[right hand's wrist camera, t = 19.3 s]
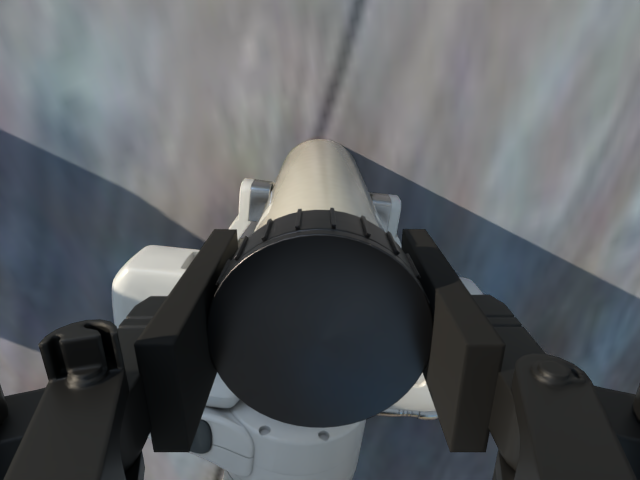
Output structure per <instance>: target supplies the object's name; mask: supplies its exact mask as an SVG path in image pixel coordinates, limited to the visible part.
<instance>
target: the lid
mask: <svg viewBox="0 0 640 480" xmlns="http://www.w3.org/2000/svg"><path fill="white" fill-rule="evenodd" d="M420 278H421V277H420V275H419V273H418V271H417V269H416V267H415V265H414V263H413V261H412V259H411V257H410V255H409V254H408V253H407V254H405V253H404V252H403V250H402V249H401V247H400V246H399V245H398V244H397V243H396V242H395V240H394V238H393V236H392V234H391V233H390V232H389V231H388V232H387V233H386V232H385V231H383V230H382V229H381V228H380V227H378V226H376V225H375V224H373V223H371V222H370V221H367V220H366V218H365V216H363V215H361V217H358V216H355V215H352V214H349V213H345V212H340V211H334V208H330V210H307V211H302V209H298V211H297V212H295V213H291V214H288V215H285V216H282V217H279V218H277V219H275V220H273V221H272V219H269V220H268V221H267V223H266V224H265V225H264V226H262V227H261V228H259V229H258V230H256V231H255V232H254V233H253V234H252V235H250V236H249V237H247V236H245V237H244V238H243V240H242V242H241V244H240V246H239V249H238V250H237V251H236V253H235V255H234V256H233V258H232V260H230V259H228V261H227V263H226V265H225V267H224V269H223V271H222V273H221V275H220V277H219V279H218V281H217V283H216V285H217V286H218V288H217V290H216V292H215V294H214V297H213V299H212V302H211V304H210V308H209V312H208V317H207V337H208V346H209V353H210V357H211V359H212V362H213V364H214V367H215V369H216V371H217V372H218V374H219V376H220V378H221V379H222V381H223V382H224V383H225V385H226V386H227V387H228V388H229V390H230V391H231V392H232V393H233V394H234V395H235V396H236V397H237V398H238V399H240V400H241V401H242V402H244V403H245V404H246V405H247V406H249V407H250V408H252V409H254V410H255V411H257V412H259V413H260V414H263V415H265V416H267V417H269V418H271V419H274V420H277V421H280V422H283V423H287V424H291V425H295V426H302V427H310V428H328V427H339V426H344V425H350V424H353V423H357V422H360V421H363V420H366V419H368V418H371V417H373V416H376V415H377V414H379V413H381V412H383V411H385V410H387V409H388V408H389V407H391V406H392V405H394V404H395V403H397V402H398V401H399V400H400V399H401V398H402V397H403V396H405V395H406V394H407V393H408V392H409V390H410V389H411V388H412V387H413V386H414V385H415V383H416V382H417V380H418V379H419V377H420V376H421V374H422V373H423V371H424V369H425V366H426V364H427V362H428V359H429V356H430V352H431V344H432V335H433V318H432V311H431V308H430V301H429V299H428V297H427V295H426V293H425V291H424V289H423V287H422V285H421V283H420V281H419V279H420Z"/></svg>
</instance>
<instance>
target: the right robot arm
mask: <svg viewBox="0 0 640 480" xmlns="http://www.w3.org/2000/svg"><path fill="white" fill-rule="evenodd" d="M401 249H402V250H403V252H404V253H405V254H407V253H408V254H409V255H410V257H411V259H412V261H413V263H414V265H415V267H416V269H417V271H418V273H419V275H420V277H421V278H420V279H419V281H420V283H421V285H422V287H423V289H424V291H425V293H426V295H427V297H428V299H429V301H430V308H431V311H432V318H433V335H432V344H431V352H430V356H429V359H428V362H427V364H426V366H425V369H424V371H423V375H424V378H425V381H426V384H427V387H428V390H429V392H430V395H431V398H432V401H433V404H434V407H435V410H436V412H437V415H438V418H439V421H440V424H441V427H442V430H443V433H444V435H445V438H446V441H447V444H448V447H449V450H450V452H486V448H487V443H488V437H489V432H491V434H492V436H493V439H494V441H495V443H496V445H497V447H498V454H497V459H496V464H495V469H494V474H493V479H492V480H640V384H639V387H638V390H637V393H636V395H635V394H630V393H625V392H620V391H615V390H611V389H606V388H601V387H597V386H593V384H592V382H591V380H590V379H589V377H588V376H587V375H586V373H585V372H584V371H582V370H581V369H580V368H578V367H577V366H575V365H574V364H572V363H570V362H568V361H566V360H563V359H561V358H559V357H555V356H551V355H547V354H545V353H544V351H543V350H542V349H541V348H540V346H539V345H538V344H537V343H536V342H535V340H534V339H533V338H532V337H531V336H530V334H529V333H528V332H527V331H526V329H525V328H524V327H522V326H521V323H520V322H519V321H518V320H517V318H516V317H514V315H513V314H512V312H511V311H510V310H509V309H508V307H507V306H506V305H505V304H504V303H502V302H500V301H499V300H497V299H496V298H494V297H492V296H491V295H471V294H470V292H469V291H468V290H467V288H466V287H465V285H464V284H463V282H462V281H461V280H460V278H459V277H458V275H457V274H456V272H455V271H454V270H453V268H452V267H451V265H450V264H449V262H448V261H447V260H446V258H445V257H444V255H443V254H442V252H441V251H440V250H439V248H438V247H437V245H436V244H435V242H434V241H433V240H432V238H431V237H430V235H429V234H428V232H427V231H426V230H425V229H403V234H402V247H401ZM237 250H238V237H237V229H214V231H213V232H212V234H211V235H210V236H209V238H208V239H207V241H206V242H205V244H204V245H203V246H202V248H201V249H200V251H199V252H198V254H197V255H196V256H195V258H194V259H193V261H192V262H191V264H190V265H189V266H188V268H187V269H186V271H185V272H184V274H183V275H182V276H181V278H180V279H179V281H178V282H177V283H176V285H175V286H174V288H173V289H172V291H171V292H170V293H169V295H168V296H150V297H148V298H147V299H145V300H143V301H142V302H140V303H139V304H137V305H135V306H134V308H133V309H132V310H131V311H130V313H129V314H128V315H127V316H126V319H124V320H123V321H122V322H121V324H120V325H119V328H117V326H116V325H114V324H113V323H112V322H110V321H105V320H85V321H80V322H76V323H72V324H69V325H66V326H64V327H61V328H59V329H57V330H55V331H54V332H52V333H50V334H49V335H47V336H46V337H45V338H44V339H43V340H42V341H41V342H40V343H39V344H38V345H39V348H40V352H41V355H42V359H43V362H44V366H45V369H46V373H47V376H48V380H49V382H48V384H47V387H46V388H42V389H38V390H34V391H29V392H24V393H19V394H14V395H9V396H4V394H3V391H2V388H1V385H0V480H143V479H144V471H145V466H144V459H143V454H142V448H143V446H144V444H145V442H146V440H147V438H148V436H149V434H151V439H152V444H153V449H154V452H190V449H191V446H192V443H193V440H194V438H195V435H196V432H197V429H198V426H199V423H200V420H201V417H202V415H203V412H204V409H205V406H206V403H207V400H208V397H209V395H210V392H211V389H212V386H213V383H214V380H215V377H216V375H217V371H216V369H215V367H214V364H213V362H212V359H211V357H210V353H209V346H208V337H207V317H208V312H209V308H210V304H211V302H212V299H213V297H214V294H215V292H216V290H217V288H218V286H217V285H216V283H217V281H218V279H219V277H220V275H221V273H222V271H223V269H224V267H225V265H226V263H227V261H228V259H230V260H232V258H233V256H234V255H235V253H236V251H237Z"/></svg>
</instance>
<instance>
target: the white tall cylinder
mask: <svg viewBox="0 0 640 480" xmlns="http://www.w3.org/2000/svg"><path fill="white" fill-rule="evenodd" d="M330 208H334V211H340V212H345V213H349V214H352V215H355V216H358V217H361V215H363V216H365V218H366V220H367V221H370V222H371V223H373V224H375V225H376V226H378V227H380V228H381V229H382V230H383V231H385V228H384V226H383V224H382V221H381V219H380V217H379V214H378V212H377V210H376V208H375V205H374V203H373V201H372V198H371V196H370V194H369V191H368V189H367V187H366V184H365V182H364V180H363V178H362V175H361V173H360V171H359V168H358V166H357V164H356V162H355V159H354V158H353V156H352V155H351V154H350V152H349V151H348V150H347V149H346V148H344V147H343V146H341V145H340V144H338V143H336V142H333V141H330V140H326V139H314V140H309V141H306V142H304V143H302V144H300V145H298V146H297V147H295V148H294V149H293V150H292V151H291V152H290V153H289V155H288V156H287V158H286V159H285V161H284V163H283V166H282V168H281V170H280V173H279V175H278V177H277V179H276V182H275V184H274V186H273V189H272V191H271V193H270V196H269V198H268V200H267V203H266V205H265V207H264V209H263V212H262V214H261V216H260V219H259V221H258V223H257V226H256V228H255V230H254V232H255V231H256V230H258V229H259V228H261V227H262V226H264V225H265V224H266V223H267V221H268V220H269V219H272V221H273V220H275V219H277V218H279V217H282V216H285V215H288V214H291V213H295V212H297V211H298V209H302V211H307V210H330ZM385 232H386V231H385Z"/></svg>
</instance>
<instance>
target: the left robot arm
mask: <svg viewBox="0 0 640 480" xmlns="http://www.w3.org/2000/svg"><path fill="white" fill-rule="evenodd" d="M272 189H273V182H272V181H264V180H256V179H247V178H245V179H244V180H243V182H242V184H241V188H240V199H239V214H238V216H237V217H236V219H235V220H234V222H233V223H232V225H231V226H230V227H229V229H237V237H238V249H239V246H240V244H241V242H242V240H243V238H240V237H241V236H242V234H243V233H244V231H245V230H246V229H247V227H248V226H249V224H250V223H251V221H257V222H258V221H259V219H260V216H261V214H262V212H263V209H264V207H265V205H266V203H267V200H268V198H269V196H270V193H271V191H272ZM369 194H370V196H371V198H372V201H373V203H374V205H375V208H376V210H377V212H378V214H379V217H380V219H381V221H382V224H383V226H384V228H385V231H386V233H387V232H388V231H389V232H390V233H391V234H392V236H393V238H394V240H395V242H396V243H397V244H398V245H399V246H400V247H402V245H401V243H400V240H399V238H398V236H397V229H398V223H399V218H400V213H401V200H400V199H399V197H398V196H397V195H390V194H381V193H371V192H370V193H369ZM199 251H200V250H196V249H186V248H177V247H167V246H159V245H149V246H146V247H144V248H143V249H142V250H140V251H139V252H138V253H137V254H135V255H134V256H133V257H132V258H131V259H130V260H129V261H127V263H126V264H125V265H124V266H123V267H122V268H121V269H120V270H119V272H118V273H117V274H116V276H115V278H114V280H113V283H112V308H113V317H114V325H116V326H117V328H119V325H120V324H121V322H122V321H123V320H124V319H126V316H127V315H128V314H129V313H130V311H131V310H132V309H133V308H134V306H135V305H137V304H139V303H140V302H142V301H143V300H145V299H147V298H148V297H150V296H168V295H169V293H170V292H171V291H172V289H173V288H174V286H175V285H176V283H177V282H178V281H179V279H180V278H181V276H182V275H183V274H184V272H185V271H186V269H187V268H188V266H189V265H190V264H191V262H192V261H193V259H194V258H195V256H196V255H197V254H198V252H199ZM459 278H460V280H461V281H462V282H463V284H464V285H465V287H466V288H467V290H468V291H469V292H470V294H471V295H484V294H483V293H482V292H481V290H480V289H479V288H478V287H477V286H476V285H475V283H474V282H473V281H471V280H470V279H467V278H463V277H459ZM376 416H387V417H401V416H402V417H405V416H406V417H416V418H417V419H422V420H435V419H438V415H437V412H436V410H435V407H434V404H433V401H432V398H431V395H430V392H429V390H428V387H427V384H426V381H425V378H424V375H423V373H422V374H421V376H420V377H419V379H418V380H417V382H416V383H415V385H414V386H413V387H412V388H411V389H410V390H409V392H408V393H407V394H406V395H405V396H403V397H402V398H401V399H400V400H399V401H398V402H397V403H395V404H394V405H392V406H391V407H389V408H388V409H387V410H385V411H383V412H381V413H379V414H377V415H376ZM365 423H366V420H363V421H360V422H357V423H353V424H350V425H344V426H339V427H328V428H310V427H302V426H295V425H291V424H287V423H283V422H280V421H277V420H274V419H271V418H269V417H267V416H265V415H263V414H260V413H259V412H257V411H255V410H254V409H252V408H250V407H249V406H247V405H246V404H245V403H244V402H242V401H241V400H240V399H238V398H237V397H236V396H235V395H234V394H233V393H232V392H231V391H230V390H229V388H228V387H227V386H226V385H225V383H224V382H223V381H222V379H221V378H220V376H219V374H218V372H217V375H216V377H215V380H214V383H213V386H212V389H211V392H210V395H209V397H208V400H207V403H206V406H205V409H204V412H203V415H202V417H201V420H200V423H199V426H198V429H197V432H196V435H195V438H194V440H193V443H192V446H191V449H190V452H189V453H191V454H194V455H196V456H198V457H201V458H203V459H205V460H207V461H209V462H211V463H213V464H215V465H217V466H219V467H221V468H223V469H224V470H225V471H224V476H223V479H222V480H352V478H353V476H354V473H355V471H356V468H357V463H358V458H359V454H360V449H361V443H362V438H363V433H364V429H365ZM148 438H149V439H151V434H149V436H148ZM151 440H152V439H151Z"/></svg>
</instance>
